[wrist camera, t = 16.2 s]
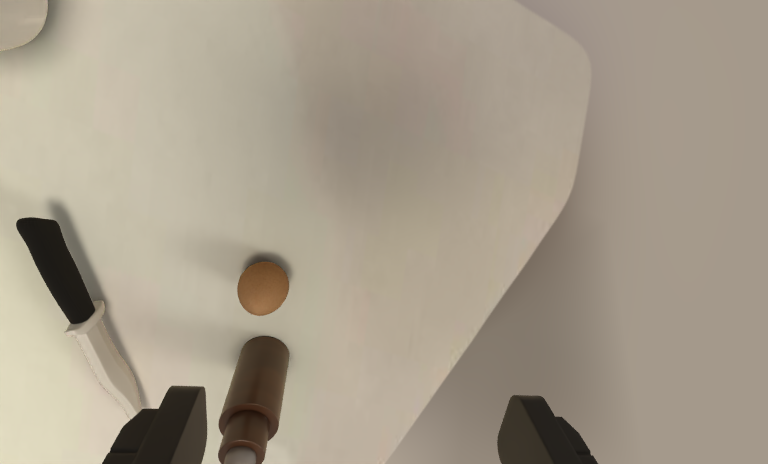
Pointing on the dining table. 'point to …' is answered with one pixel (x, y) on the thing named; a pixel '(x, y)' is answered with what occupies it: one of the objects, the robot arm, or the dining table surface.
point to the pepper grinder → (253, 401)
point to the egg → (262, 288)
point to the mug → (21, 21)
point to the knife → (80, 310)
